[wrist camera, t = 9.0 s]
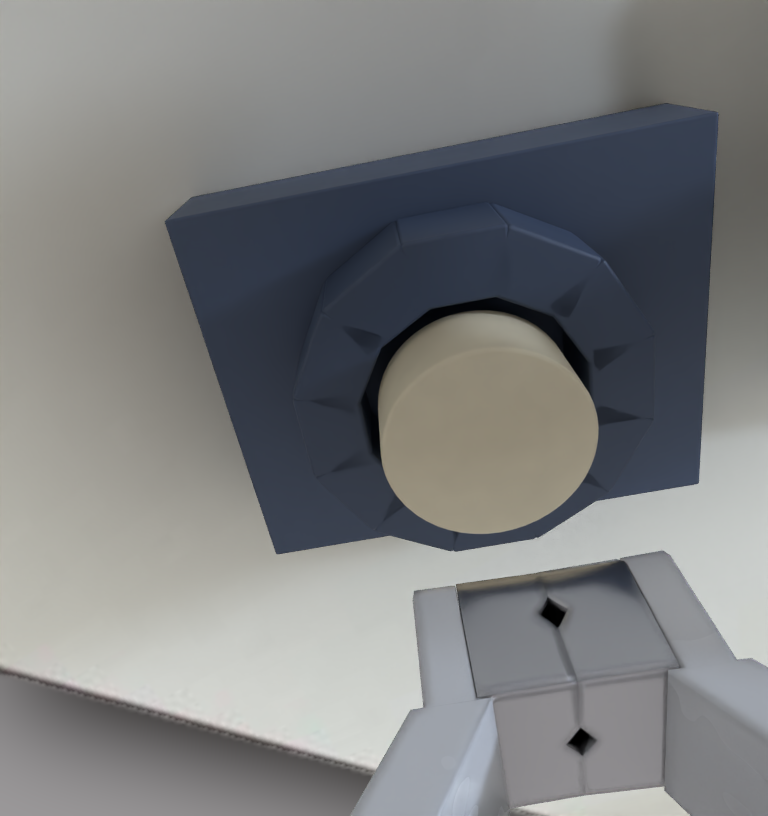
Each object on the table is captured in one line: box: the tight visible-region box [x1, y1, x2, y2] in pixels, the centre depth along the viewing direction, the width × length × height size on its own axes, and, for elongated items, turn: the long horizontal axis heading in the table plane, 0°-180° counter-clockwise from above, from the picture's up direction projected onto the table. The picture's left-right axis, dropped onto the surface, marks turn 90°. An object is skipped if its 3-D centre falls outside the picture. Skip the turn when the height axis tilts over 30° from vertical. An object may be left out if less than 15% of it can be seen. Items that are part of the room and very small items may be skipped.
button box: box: [165, 103, 719, 554], centre depth 14 cm, size 8×10×4 cm
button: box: [378, 310, 599, 534], centre depth 12 cm, size 4×4×2 cm
